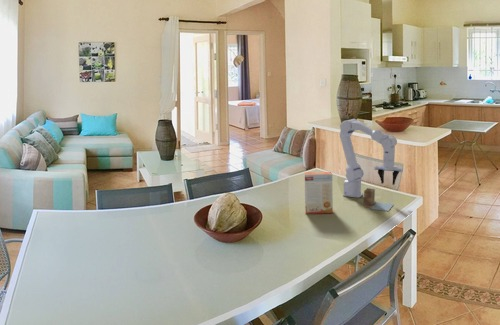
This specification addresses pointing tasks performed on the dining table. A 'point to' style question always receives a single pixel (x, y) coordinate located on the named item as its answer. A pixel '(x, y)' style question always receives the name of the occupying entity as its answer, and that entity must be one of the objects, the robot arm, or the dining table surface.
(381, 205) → the mat
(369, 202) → the brown wooden block
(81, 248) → the dining table surface
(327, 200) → the cracker box
